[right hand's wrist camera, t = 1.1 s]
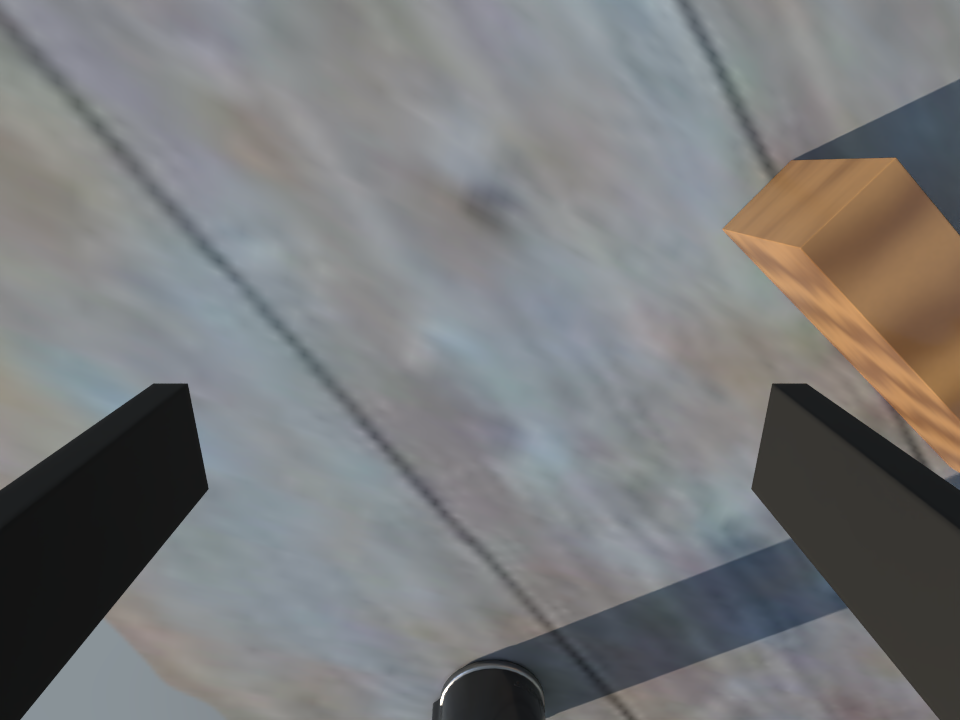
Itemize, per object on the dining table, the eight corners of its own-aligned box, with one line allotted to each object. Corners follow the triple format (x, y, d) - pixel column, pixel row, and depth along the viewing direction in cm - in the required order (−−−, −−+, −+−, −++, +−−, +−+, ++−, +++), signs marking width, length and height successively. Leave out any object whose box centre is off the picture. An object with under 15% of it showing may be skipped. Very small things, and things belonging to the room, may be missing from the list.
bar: (721, 229, 37) (799, 248, 28) (791, 159, 36) (896, 157, 27) (950, 467, 43) (1073, 544, 34) (1017, 415, 42) (1163, 482, 33)
